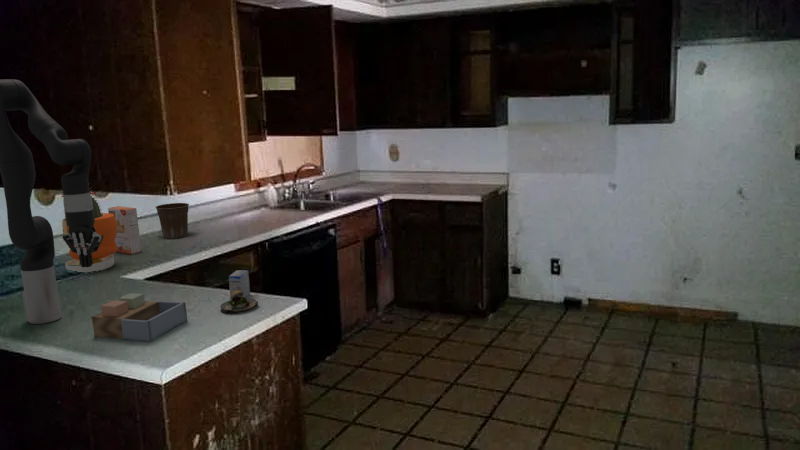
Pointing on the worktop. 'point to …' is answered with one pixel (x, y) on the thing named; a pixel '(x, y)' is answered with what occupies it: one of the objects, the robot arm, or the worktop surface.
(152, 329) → the tray
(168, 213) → the plant pot
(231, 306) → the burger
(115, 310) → the tile terracotta
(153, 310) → the wooden block
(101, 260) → the potted cactus
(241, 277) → the medicine box
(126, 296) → the tile sage
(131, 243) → the cracker box
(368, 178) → the worktop surface
